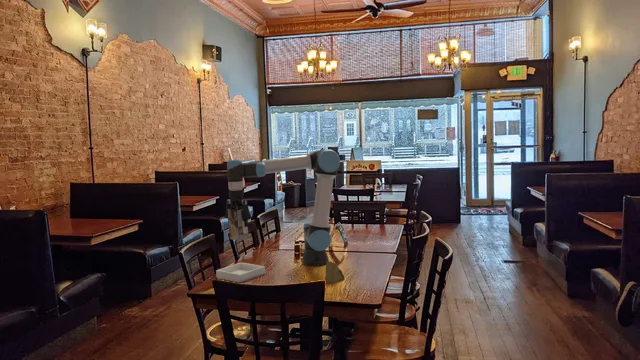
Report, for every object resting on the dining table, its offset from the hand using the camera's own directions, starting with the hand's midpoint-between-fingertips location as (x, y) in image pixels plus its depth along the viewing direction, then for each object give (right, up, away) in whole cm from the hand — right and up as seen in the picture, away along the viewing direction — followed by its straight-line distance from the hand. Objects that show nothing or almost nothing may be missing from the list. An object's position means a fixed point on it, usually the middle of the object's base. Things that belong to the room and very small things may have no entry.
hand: (238, 232), depth 248 cm
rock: (+50, -23, -14) cm, 57 cm away
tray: (+1, -23, +2) cm, 23 cm away
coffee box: (0, -4, 0) cm, 4 cm away
